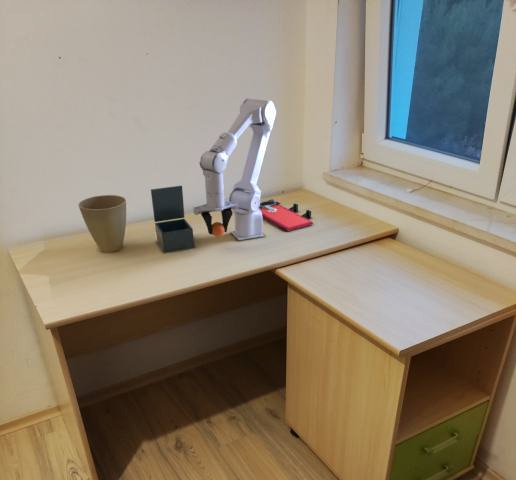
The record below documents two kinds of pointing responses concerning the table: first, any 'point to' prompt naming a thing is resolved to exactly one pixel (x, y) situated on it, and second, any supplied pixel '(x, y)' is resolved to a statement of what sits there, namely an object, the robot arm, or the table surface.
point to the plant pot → (105, 220)
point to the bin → (174, 235)
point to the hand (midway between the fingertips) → (217, 232)
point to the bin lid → (167, 203)
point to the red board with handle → (284, 215)
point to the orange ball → (218, 229)
